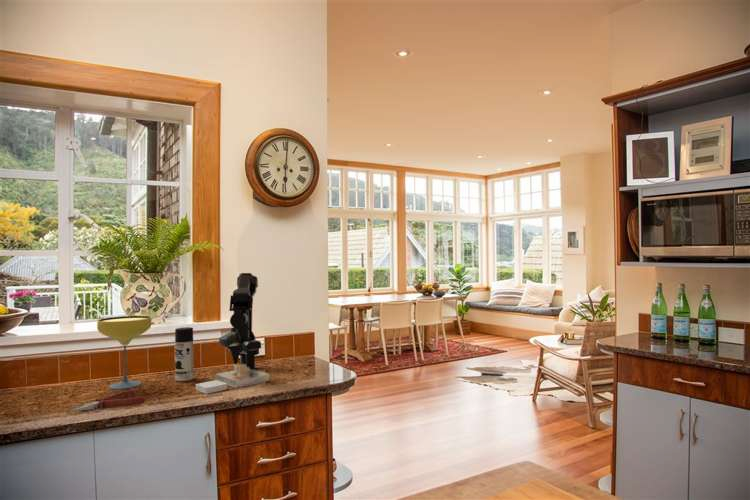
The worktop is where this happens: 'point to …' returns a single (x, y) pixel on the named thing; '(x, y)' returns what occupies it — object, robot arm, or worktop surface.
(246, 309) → the robot arm
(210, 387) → the soap bar
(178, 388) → the worktop surface
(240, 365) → the peg
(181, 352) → the spray can
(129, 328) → the cocktail glass
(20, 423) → the worktop surface
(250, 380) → the plate
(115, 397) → the pliers
